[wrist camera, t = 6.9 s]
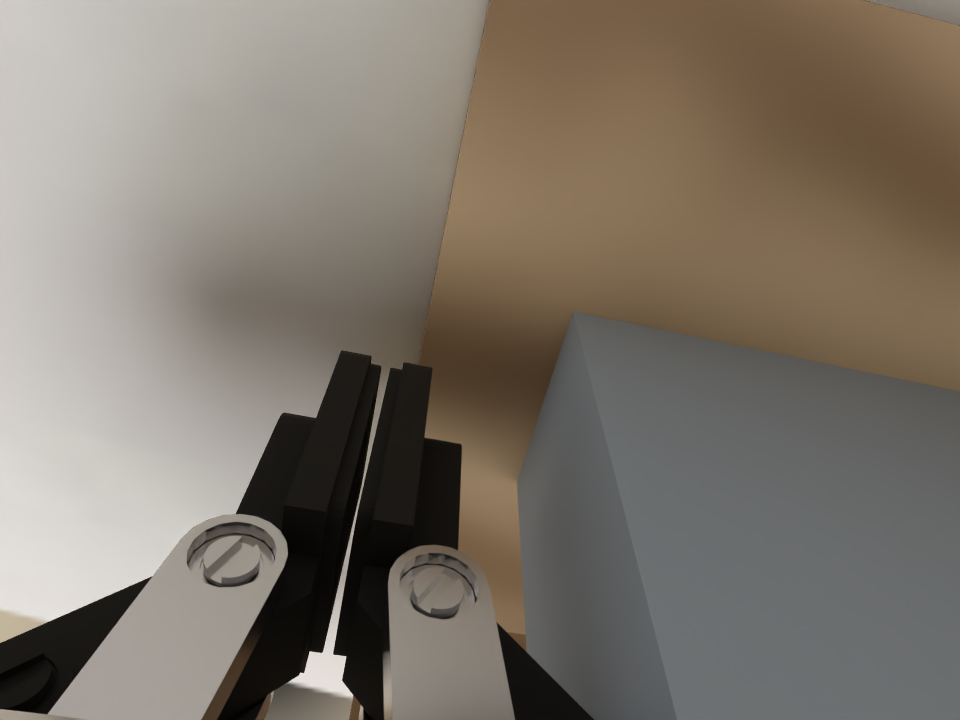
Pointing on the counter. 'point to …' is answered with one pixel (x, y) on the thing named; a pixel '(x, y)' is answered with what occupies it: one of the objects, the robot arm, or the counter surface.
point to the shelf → (688, 210)
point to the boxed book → (740, 533)
